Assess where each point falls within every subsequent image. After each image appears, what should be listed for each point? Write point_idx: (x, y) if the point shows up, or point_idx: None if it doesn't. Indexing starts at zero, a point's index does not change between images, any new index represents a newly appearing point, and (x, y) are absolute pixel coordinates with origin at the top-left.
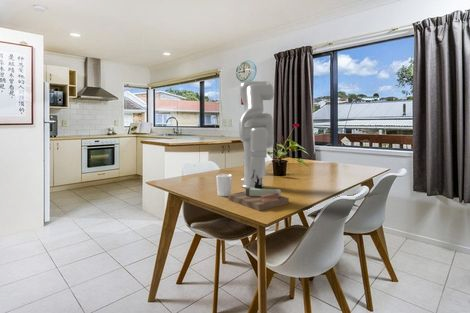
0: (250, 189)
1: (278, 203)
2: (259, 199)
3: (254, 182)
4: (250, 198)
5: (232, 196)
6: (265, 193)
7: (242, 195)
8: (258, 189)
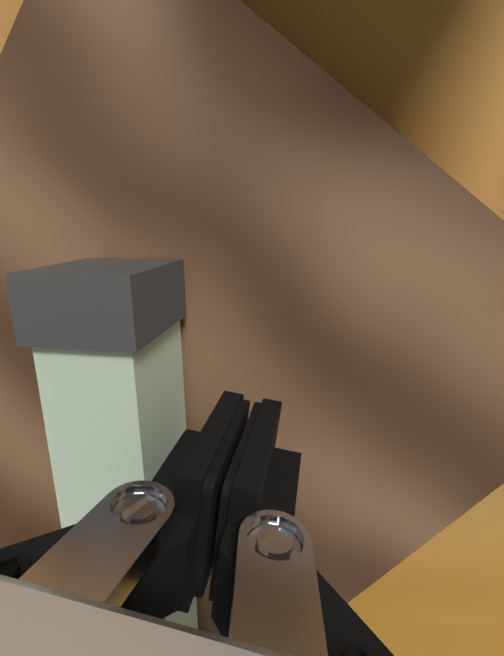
0: (38, 367)
1: None
2: (5, 460)
3: (82, 519)
4: (3, 348)
5: (21, 21)
6: None
7: (116, 191)
8: (82, 507)
